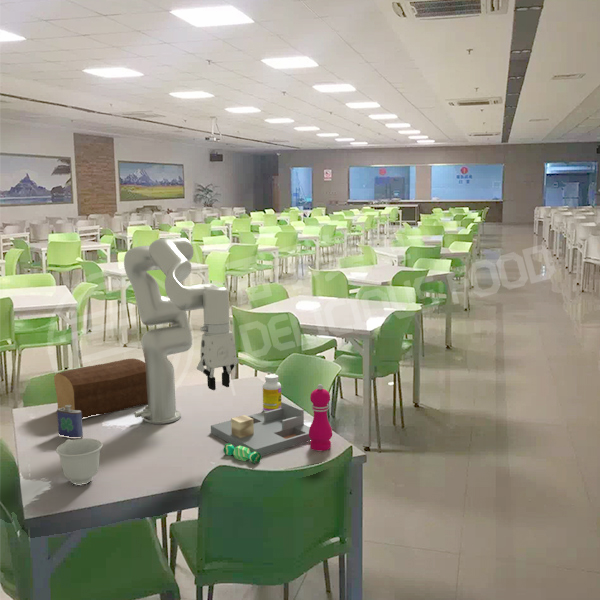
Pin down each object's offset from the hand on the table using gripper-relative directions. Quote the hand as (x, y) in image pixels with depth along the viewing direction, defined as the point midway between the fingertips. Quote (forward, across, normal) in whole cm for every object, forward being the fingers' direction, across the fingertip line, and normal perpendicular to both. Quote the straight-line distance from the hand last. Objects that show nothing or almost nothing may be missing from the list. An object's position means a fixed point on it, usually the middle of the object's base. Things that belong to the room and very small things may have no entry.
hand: (218, 387), depth 202 cm
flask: (+20, -33, +39) cm, 55 cm away
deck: (+19, +16, 0) cm, 25 cm away
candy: (+20, +1, -11) cm, 23 cm away
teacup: (+20, -42, +5) cm, 47 cm away
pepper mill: (+20, +24, -19) cm, 36 cm away
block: (+17, +8, 0) cm, 19 cm away
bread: (+20, -13, +61) cm, 65 cm away
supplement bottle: (+20, +32, +18) cm, 42 cm away
